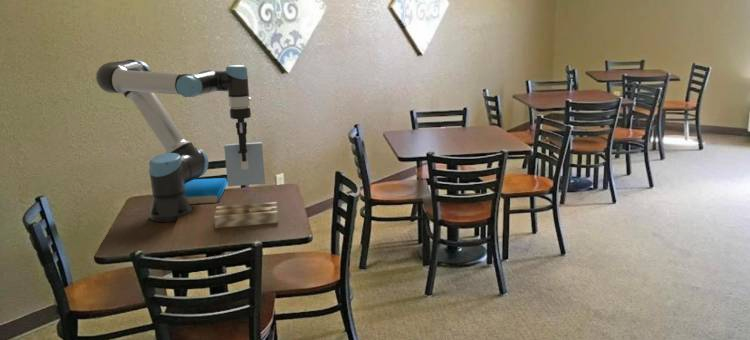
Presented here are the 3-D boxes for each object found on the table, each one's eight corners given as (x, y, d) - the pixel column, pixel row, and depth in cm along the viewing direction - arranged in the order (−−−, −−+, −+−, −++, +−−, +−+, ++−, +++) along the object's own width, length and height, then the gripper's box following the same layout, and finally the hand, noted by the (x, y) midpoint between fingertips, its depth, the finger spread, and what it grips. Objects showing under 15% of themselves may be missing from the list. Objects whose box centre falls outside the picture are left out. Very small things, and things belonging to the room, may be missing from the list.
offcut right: (249, 222, 217) (248, 211, 216) (250, 220, 219) (249, 208, 218) (272, 221, 218) (271, 209, 217) (272, 218, 221) (271, 207, 220)
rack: (215, 231, 213) (214, 217, 212) (217, 220, 225) (216, 206, 223) (278, 226, 217) (277, 212, 216) (277, 215, 228) (276, 201, 227)
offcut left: (218, 225, 215) (217, 212, 214) (219, 223, 217) (217, 210, 216) (244, 223, 217) (243, 210, 215) (244, 221, 219) (243, 208, 218)
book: (175, 196, 243) (187, 178, 267) (177, 206, 245) (188, 188, 269) (219, 194, 245) (226, 176, 269) (220, 204, 246) (227, 186, 270)
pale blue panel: (227, 186, 230) (224, 145, 226) (228, 184, 232) (224, 144, 228) (265, 183, 233) (261, 143, 228) (265, 182, 234) (261, 142, 230)
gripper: (249, 109, 218) (254, 172, 224) (250, 103, 232) (255, 162, 238) (228, 111, 217) (234, 174, 223) (230, 104, 231) (235, 164, 237)
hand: (245, 168), depth 231 cm, fingers closed on pale blue panel, 2 cm apart
